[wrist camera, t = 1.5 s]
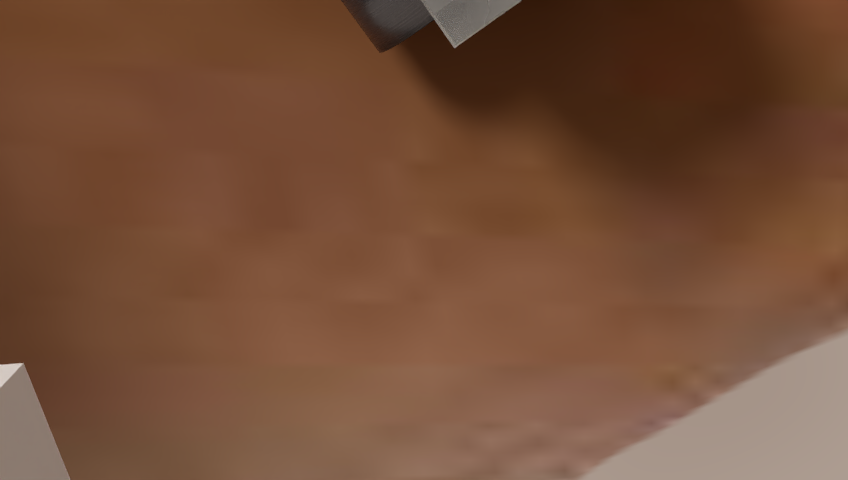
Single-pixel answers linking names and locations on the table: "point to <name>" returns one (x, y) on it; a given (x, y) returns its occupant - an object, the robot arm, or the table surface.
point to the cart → (423, 18)
